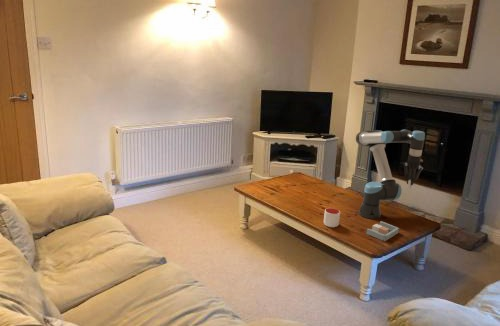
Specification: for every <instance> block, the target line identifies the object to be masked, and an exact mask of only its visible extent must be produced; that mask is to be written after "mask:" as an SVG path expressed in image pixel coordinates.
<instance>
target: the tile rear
mask: <svg viewBox="0 0 500 326" xmlns="http://www.w3.org/2000/svg"><path fill="white" fill-rule="evenodd" d="M371 227H372V228H371V230H373V231H376V232H378V231H379V228H380V227H382V226H381V225H380V224H378V223H375V224H372V226H371Z"/></svg>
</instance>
